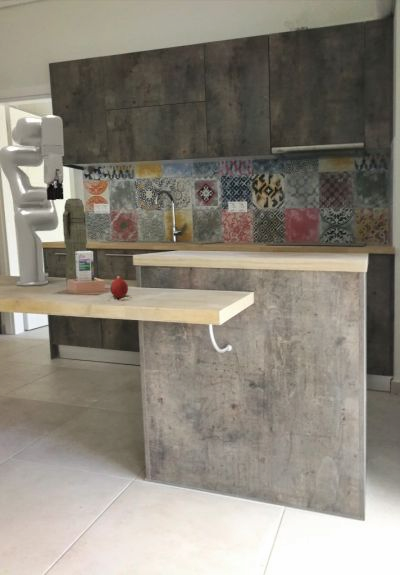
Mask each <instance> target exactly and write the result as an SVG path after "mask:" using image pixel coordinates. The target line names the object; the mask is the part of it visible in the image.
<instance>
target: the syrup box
mask: <svg viewBox="0 0 400 575" xmlns="http://www.w3.org/2000/svg"><path fill="white" fill-rule="evenodd" d="M75 259H76V279H77V281H78V282H84V281H94V278H95V271H94V269H95V268H94V264H95V263H94V251H92V250H86V251H76V252H75Z"/></svg>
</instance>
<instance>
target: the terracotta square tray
mask: <svg viewBox="0 0 400 575" xmlns="http://www.w3.org/2000/svg"><path fill="white" fill-rule="evenodd" d="M66 287H67V289H68V291H70V292H73V293H75V294H81V293H93V292H105V288H106V282H105V279H101V278H98V277H94V281H84V282H78V281H77V279H68V280H67V282H66ZM67 289H66V290H67Z"/></svg>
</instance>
